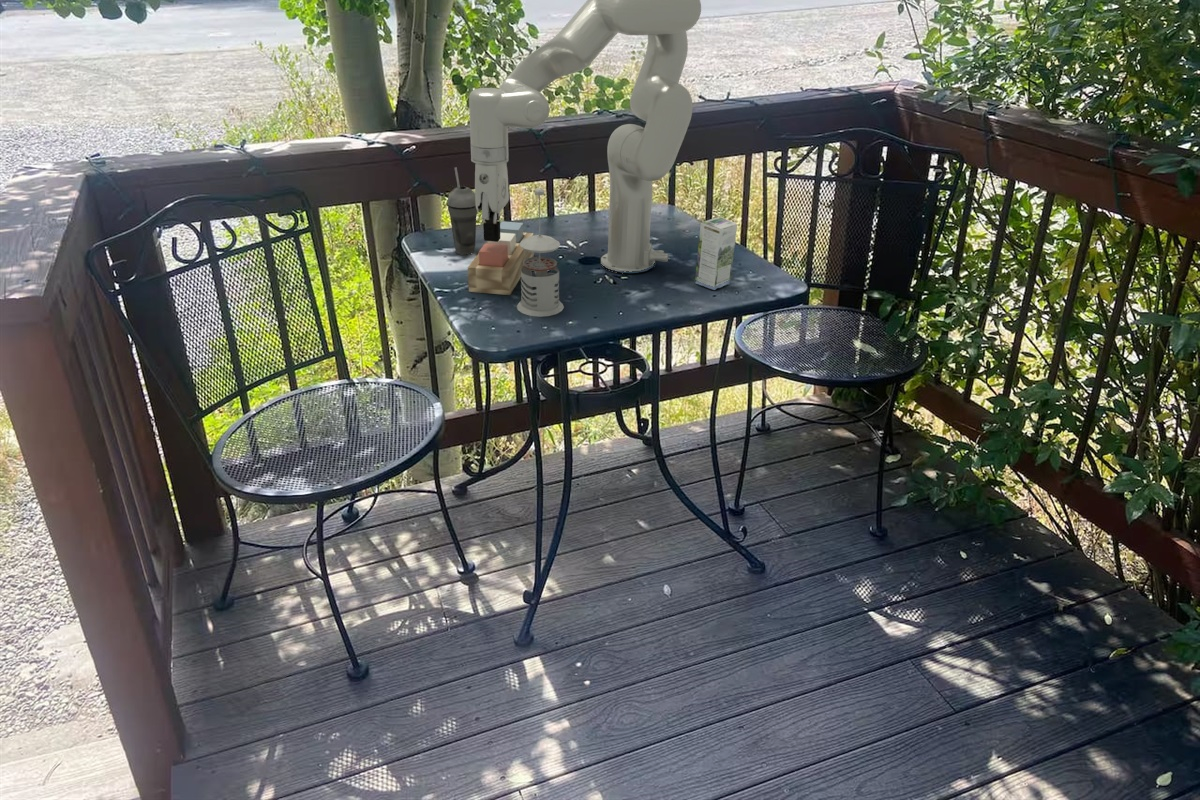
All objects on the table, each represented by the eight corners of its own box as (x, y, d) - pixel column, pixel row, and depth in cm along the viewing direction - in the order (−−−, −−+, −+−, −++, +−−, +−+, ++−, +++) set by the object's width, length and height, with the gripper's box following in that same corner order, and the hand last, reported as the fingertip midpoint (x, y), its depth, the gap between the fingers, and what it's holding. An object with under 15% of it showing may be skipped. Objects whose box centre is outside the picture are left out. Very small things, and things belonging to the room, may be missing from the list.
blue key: (523, 239, 206) (523, 222, 204) (518, 246, 201) (518, 230, 199) (502, 237, 206) (502, 221, 204) (497, 245, 202) (496, 228, 200)
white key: (516, 250, 199) (515, 233, 197) (510, 258, 195) (510, 241, 193) (494, 249, 200) (493, 232, 198) (488, 256, 196) (488, 239, 194)
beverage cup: (478, 257, 207) (474, 172, 197) (447, 256, 207) (441, 171, 197) (482, 246, 214) (479, 164, 204) (452, 245, 214) (447, 163, 204)
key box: (534, 255, 209) (533, 233, 207) (509, 295, 189) (509, 270, 186) (497, 252, 210) (496, 230, 208) (468, 291, 190) (467, 267, 187)
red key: (508, 262, 193) (507, 245, 191) (502, 271, 188) (501, 253, 186) (485, 260, 193) (485, 243, 191) (479, 269, 189) (478, 251, 187)
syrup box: (710, 277, 200) (716, 215, 193) (731, 285, 197) (737, 222, 189) (694, 284, 197) (699, 221, 189) (714, 292, 193) (721, 228, 186)
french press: (525, 319, 178) (523, 198, 166) (507, 297, 188) (504, 181, 175) (571, 312, 182) (572, 193, 169) (550, 291, 191) (550, 176, 179)
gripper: (498, 164, 172) (500, 253, 181) (516, 145, 185) (517, 230, 194) (461, 161, 173) (465, 250, 182) (481, 143, 186) (484, 227, 195)
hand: (492, 239), depth 188 cm, fingers closed
